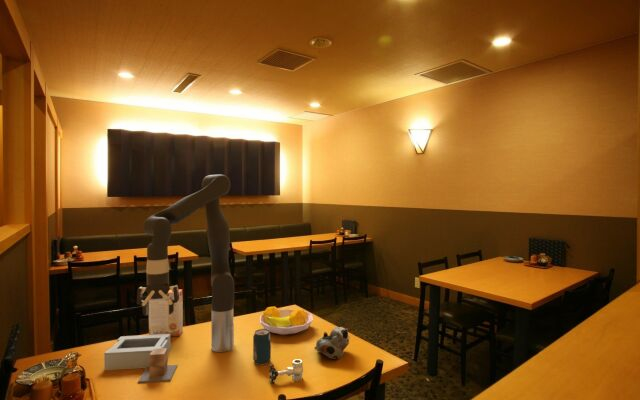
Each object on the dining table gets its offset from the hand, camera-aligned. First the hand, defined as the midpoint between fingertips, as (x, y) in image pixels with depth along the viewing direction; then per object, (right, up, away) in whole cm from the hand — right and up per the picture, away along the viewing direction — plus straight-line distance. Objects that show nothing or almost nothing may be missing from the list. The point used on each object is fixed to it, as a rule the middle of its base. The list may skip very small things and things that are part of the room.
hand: (158, 314), depth 135 cm
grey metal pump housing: (+65, -23, +19) cm, 71 cm away
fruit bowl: (+42, -22, +45) cm, 65 cm away
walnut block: (0, -22, +1) cm, 22 cm away
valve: (+48, -23, -3) cm, 53 cm away
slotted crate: (-13, -22, +13) cm, 29 cm away
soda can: (+36, -23, +12) cm, 44 cm away
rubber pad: (0, -23, +1) cm, 23 cm away
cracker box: (-13, -22, +38) cm, 46 cm away
